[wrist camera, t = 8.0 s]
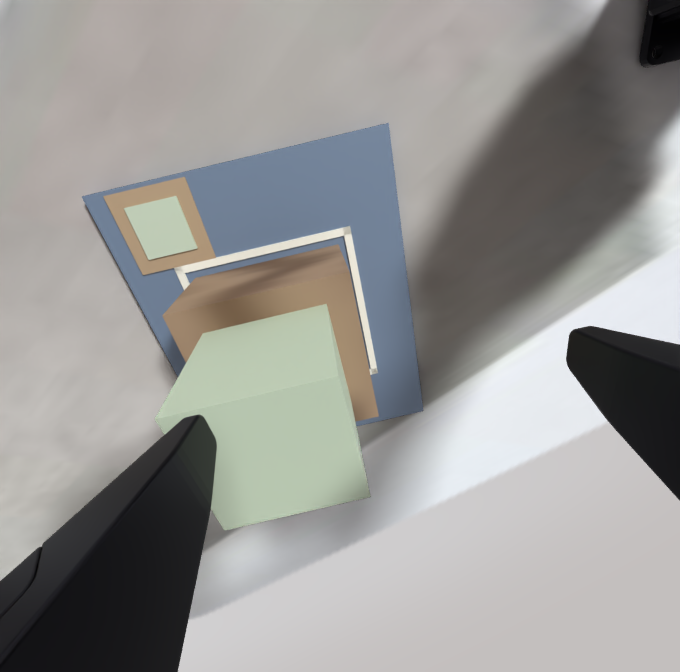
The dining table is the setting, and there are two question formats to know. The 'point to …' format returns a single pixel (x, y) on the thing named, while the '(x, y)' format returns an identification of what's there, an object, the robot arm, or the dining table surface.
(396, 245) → the board
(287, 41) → the dining table surface
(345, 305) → the walnut base block
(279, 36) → the dining table surface
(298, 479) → the sage cube
